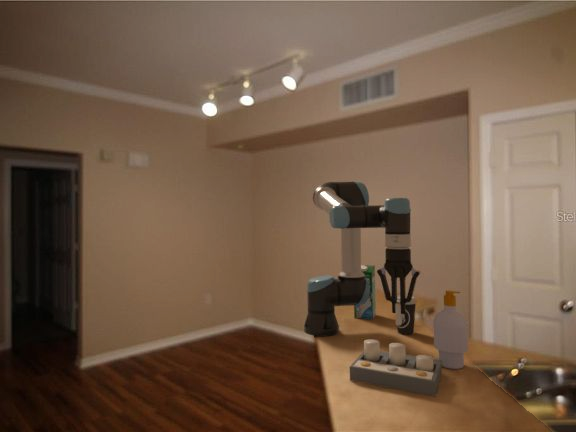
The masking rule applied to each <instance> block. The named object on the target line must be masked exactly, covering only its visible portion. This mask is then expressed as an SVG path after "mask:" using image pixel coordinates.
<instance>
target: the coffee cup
mask: <svg viewBox="0 0 576 432" xmlns="http://www.w3.org/2000/svg"><path fill="white" fill-rule="evenodd" d="M407 295H408V294H406V298H407ZM397 302H400V294H399V295H398V294H397ZM417 303H418V302H417V300H416V298H415V296H412V300H411V301H410V302H407V303H405V310H406V312H405V314H402V324H401V325H396V331H397V333H398V334H400V335H404V336H406V335H407V336H410V335H414V331H415V320H416V319H415V317H416V316H415V315H416V304H417Z"/></svg>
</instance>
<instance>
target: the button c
mask: <svg viewBox="0 0 576 432" xmlns="http://www.w3.org/2000/svg"><path fill="white" fill-rule="evenodd" d="M433 359H434V357H433V356H430V355H427V354H418V355H416V369H422V370H428V371H434V367H433Z"/></svg>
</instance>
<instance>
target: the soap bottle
mask: <svg viewBox="0 0 576 432" xmlns="http://www.w3.org/2000/svg"><path fill="white" fill-rule="evenodd" d="M454 294H461V291H456V290H455V291H454V290H445V294H443V310H440V311H438V312H437V313H436V314H435V315H434V318H433V346H434V349H436V350H437V351H438V360H442V368H446V369H449V370H460V369H462V368H463V367H464V366H465V358H464V357H465V356H464V353H467V352H468V351H469V333H468V332H469V330H468V329H469V328H468V323H467V319H466V317H465V315H463V313H461V312H460V311H457V303H456V301H457V300H456V299H457V297H456V295H454Z"/></svg>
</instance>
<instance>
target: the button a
mask: <svg viewBox="0 0 576 432" xmlns="http://www.w3.org/2000/svg"><path fill="white" fill-rule="evenodd" d="M363 351H364V360H367V361H374V362H380V351H381V350H380V341H379V340H377V339H369V338H368V339H365V340H364V341H363Z"/></svg>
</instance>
